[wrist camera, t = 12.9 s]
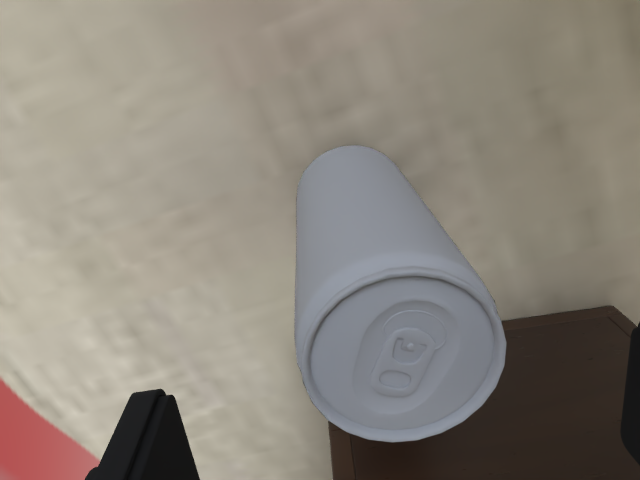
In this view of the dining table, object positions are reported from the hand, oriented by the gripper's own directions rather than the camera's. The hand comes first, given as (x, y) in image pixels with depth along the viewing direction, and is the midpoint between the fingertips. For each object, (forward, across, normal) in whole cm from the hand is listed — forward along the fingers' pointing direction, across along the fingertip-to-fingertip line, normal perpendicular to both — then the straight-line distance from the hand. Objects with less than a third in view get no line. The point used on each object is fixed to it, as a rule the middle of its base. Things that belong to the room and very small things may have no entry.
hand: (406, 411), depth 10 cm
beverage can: (+13, 0, -1) cm, 13 cm away
